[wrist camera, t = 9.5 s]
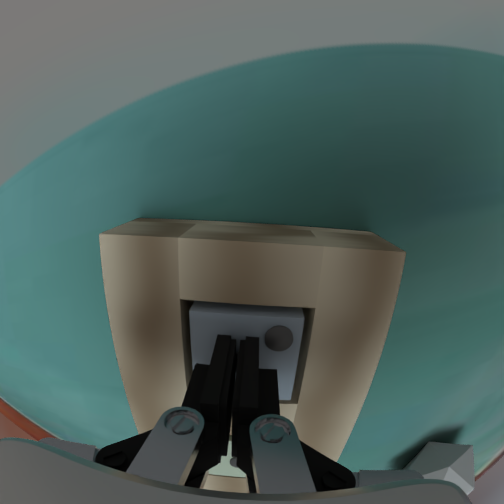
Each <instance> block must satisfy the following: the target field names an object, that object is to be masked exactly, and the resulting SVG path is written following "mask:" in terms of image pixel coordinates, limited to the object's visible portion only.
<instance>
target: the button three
mask: <svg viewBox="0 0 504 504" xmlns="http://www.w3.org/2000/svg"><path fill="white" fill-rule="evenodd" d="M189 316H190V336H191V352H192V367H193V369H194V366H195V364H196V363H199V364H208V365H210V361H211V358H212V354H213V350H214V346H215V342H216V339H217V335H218V334H220V335H231V339H236V367H235V379H236V371H237V363H238V354H239V346H240V340H246V336H248V337H259V368H261V369H277V375H278V389H279V400H291V395H292V390H293V385H294V379H295V374H296V368H297V363H298V357H299V351H300V345H301V338H302V332H303V325H304V319H305V318H304V314H303V311H302V307H283V306H264V305H248V304H233V303H220V302H207V301H196V300H195V301H194V303H193V305H192V306H191V308H190V310H189Z"/></svg>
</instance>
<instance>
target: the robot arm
mask: <svg viewBox="0 0 504 504" xmlns="http://www.w3.org/2000/svg"><path fill="white" fill-rule="evenodd" d="M235 367H236V339H231V335H220V334H218V335H217V339H216V342H215V346H214V350H213V354H212V358H211V361H210V365H208V364H199V363H196V364H195V366H194V369H193V372H192V375H191V378H190V381H189V384H188V387H187V391H186V394H185V397H184V400H183V403H182V406H181V407H174V408H171V409H168V410H167V411H165V412H164V413H163V414H162V415H161V417H160V418H159V420H158V421H157V423H156V425H155V426H154V428H153V429H152V430H149V431H147V432H144V433H141V434H139V435H136V436H134V437H131V438H128V439H125V440H123V441H120V442H117V443H114V444H111V445H108V446H106V447H104V448H102V449H97V447H96V446H94V445H87V444H81V443H75V442H70V441H65V440H60V439H55V438H44V439H41V440H40V441H38V442H37V441H33V440H29V439H22V438H3V439H0V504H472V502H471V501H470V499H469V498H468V496H467V495H466V493H465V492H464V491H463V490H462V489H461V488H460V487H459V486H458V485H456V484H455V483H452V482H450V481H445V480H439V479H424V477H423V476H422V475H421V474H420V473H419V472H417V471H415V470H360V471H359V472H351V471H350V470H349V469H347V468H346V467H344V466H342V465H340V464H339V463H337V462H335V461H333V460H332V459H330V458H328V457H326V456H325V455H323V454H321V453H320V452H318V451H316V450H315V449H313V448H312V447H310V446H308V445H307V444H305V443H304V442H302V441H301V440H299V437H298V434H297V431H296V428H295V426H294V424H293V423H292V422H291V421H290V420H289V419H288V418H286V417H284V416H280V405H279V389H278V375H277V369H261V368H259V337H248V336H246V340H240V346H239V354H238V363H237V371H236V379H235ZM231 419H232V452H231V457H237V461H236V466H237V467H238V468H239V469H240V470H242V471H243V472H244V473H245V474H246V477H245V478H246V484H247V491H248V493H238V492H225V491H216V490H207V489H203V488H204V485H205V482H206V480H207V477H208V474H209V469H211V468H212V467H214V466H216V465H218V463H221V456H227V452H228V444H229V436H230V427H231Z"/></svg>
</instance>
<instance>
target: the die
mask: <svg viewBox="0 0 504 504" xmlns="http://www.w3.org/2000/svg"><path fill="white" fill-rule="evenodd" d="M403 470H415V471H417V472H419V473H420V474H421V475H422V476H423V477H424V479H439V480H445V481H450V482H452V483H455V484H456V485H458V486H459V487H460V488H461V489H462V490H463V491H464V492H465V493H466V495H468V494H469V493H470V492H471V491H473V490H474V456H473V445H461V444H449V443H439V442H430V441H429V442H428V443H427V444H426V445H425V446H424V448H423V449H422V450H421V451H420V452H419V453H418V454H417V455H416V456H415V457H414V458H413V459H412V460H411V461H410V463H409V464H408V465H407V466H406V467H405V468H404V469H403Z"/></svg>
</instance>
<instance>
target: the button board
mask: <svg viewBox="0 0 504 504" xmlns="http://www.w3.org/2000/svg"><path fill="white" fill-rule="evenodd" d="M99 240H100V253H101V263H102V273H103V281H104V289H105V296H106V303H107V310H108V316H109V321H110V327H111V332H112V337H113V342H114V347H115V352H116V356H117V360H118V365H119V369H120V373H121V377H122V381H123V384H124V388H125V392H126V395H127V399H128V402H129V405H130V409H131V412H132V415H133V418H134V421H135V424H136V427H137V430H138V433H139V434H141V433H144V432H147V431H149V430H152V429H153V428H154V426H155V425H156V423H157V421H158V420H159V418H160V417H161V415H162V414H163V413H164V412H165V411H167V410H168V409H171V408H174V407H181V406H182V403H183V400H184V397H185V394H186V391H187V387H188V384H189V381H190V378H191V375H192V372H193V367H192V352H191V336H190V316H189V310H190V308H191V306H192V305H193V303H194V301H195V300H196V301H207V302H220V303H233V304H248V305H264V306H283V307H302V311H303V314H304V318H305V319H304V325H303V332H302V338H301V345H300V351H299V357H298V363H297V368H296V374H295V379H294V385H293V390H292V395H291V400H279V405H280V416H284V417H286V418H288V419H289V420H290V421H291V422H292V423H293V424H294V426H295V428H296V431H297V434H298V437H299V440H301V441H302V442H304V443H305V444H307V445H308V446H310V447H312V448H313V449H315V450H316V451H318V452H320V453H321V454H323V455H325V456H326V457H328V458H330V459H332V460H333V461H335V462H337V460H338V458H339V456H340V454H341V452H342V450H343V448H344V446H345V444H346V442H347V440H348V438H349V436H350V434H351V431H352V429H353V427H354V425H355V422H356V420H357V418H358V415H359V413H360V411H361V408H362V406H363V403H364V401H365V398H366V396H367V393H368V390H369V388H370V385H371V382H372V380H373V377H374V374H375V371H376V368H377V365H378V362H379V359H380V356H381V353H382V350H383V347H384V343H385V340H386V337H387V333H388V330H389V326H390V323H391V319H392V315H393V311H394V307H395V303H396V299H397V295H398V290H399V286H400V281H401V277H402V272H403V267H404V261H405V256H406V252H405V251H403V250H402V249H400V248H398V247H397V246H395V245H393V244H391V243H390V242H388V241H386V240H385V239H383V238H381V237H379V236H378V235H376V234H374V233H372V232H368V231H356V230H345V229H332V228H319V227H306V226H292V225H277V224H261V223H243V222H225V221H204V220H180V219H151V218H137V219H135V220H132V221H130V222H127V223H125V224H122V225H120V226H117V227H115V228H112V229H110V230H107V231H105V232H102V233H100V234H99ZM230 435H232V419H231V427H230ZM203 489H207V490H216V491H225V492H238V493H248V491H247V484H246V478H245V477H233V476H222V475H213V474H208V477H207V480H206V482H205V485H204V488H203Z"/></svg>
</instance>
